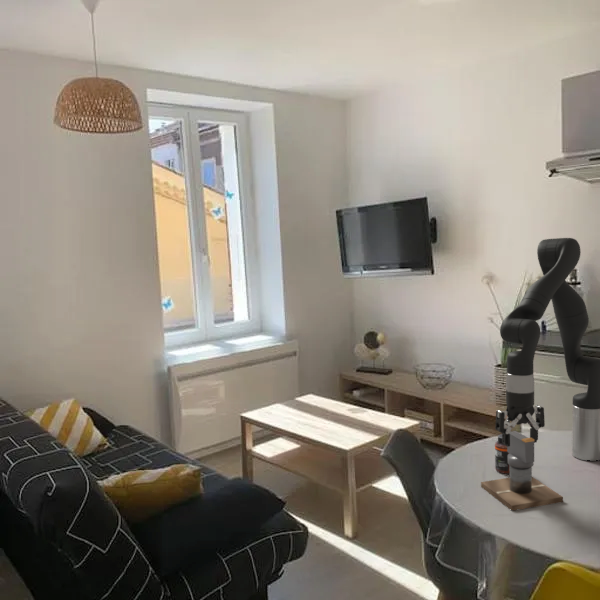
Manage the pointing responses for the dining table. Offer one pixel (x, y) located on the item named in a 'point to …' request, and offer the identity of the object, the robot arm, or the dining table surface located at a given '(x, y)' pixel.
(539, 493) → the base
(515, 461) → the wing cap
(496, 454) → the supplement bottle
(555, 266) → the robot arm
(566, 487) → the dining table surface
